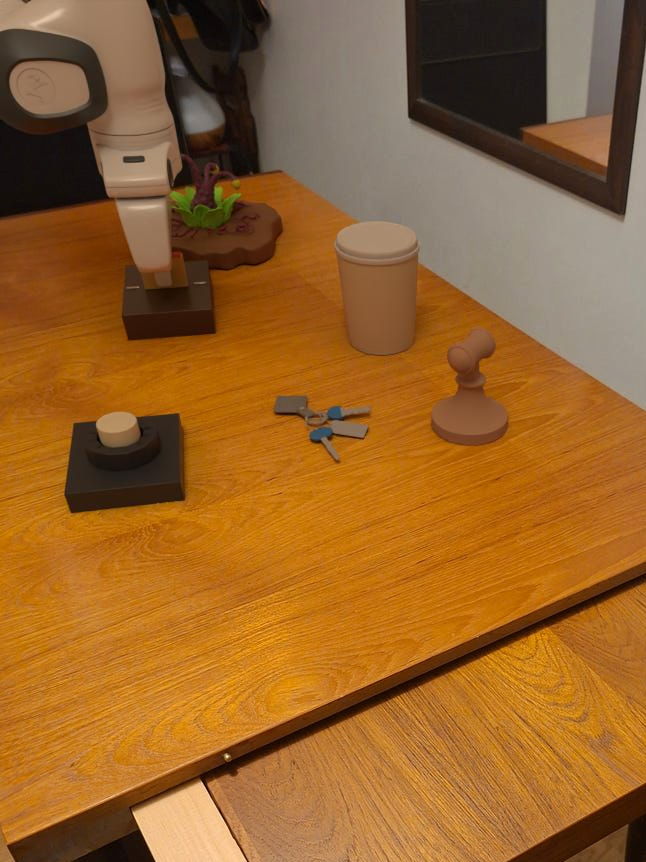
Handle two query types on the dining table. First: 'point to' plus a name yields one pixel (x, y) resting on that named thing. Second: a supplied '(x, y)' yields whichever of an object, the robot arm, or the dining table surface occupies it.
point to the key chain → (323, 419)
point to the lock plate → (169, 305)
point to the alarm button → (118, 429)
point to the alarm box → (126, 467)
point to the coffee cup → (378, 285)
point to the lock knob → (176, 272)
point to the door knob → (470, 396)
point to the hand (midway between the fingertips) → (165, 278)
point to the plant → (221, 223)
